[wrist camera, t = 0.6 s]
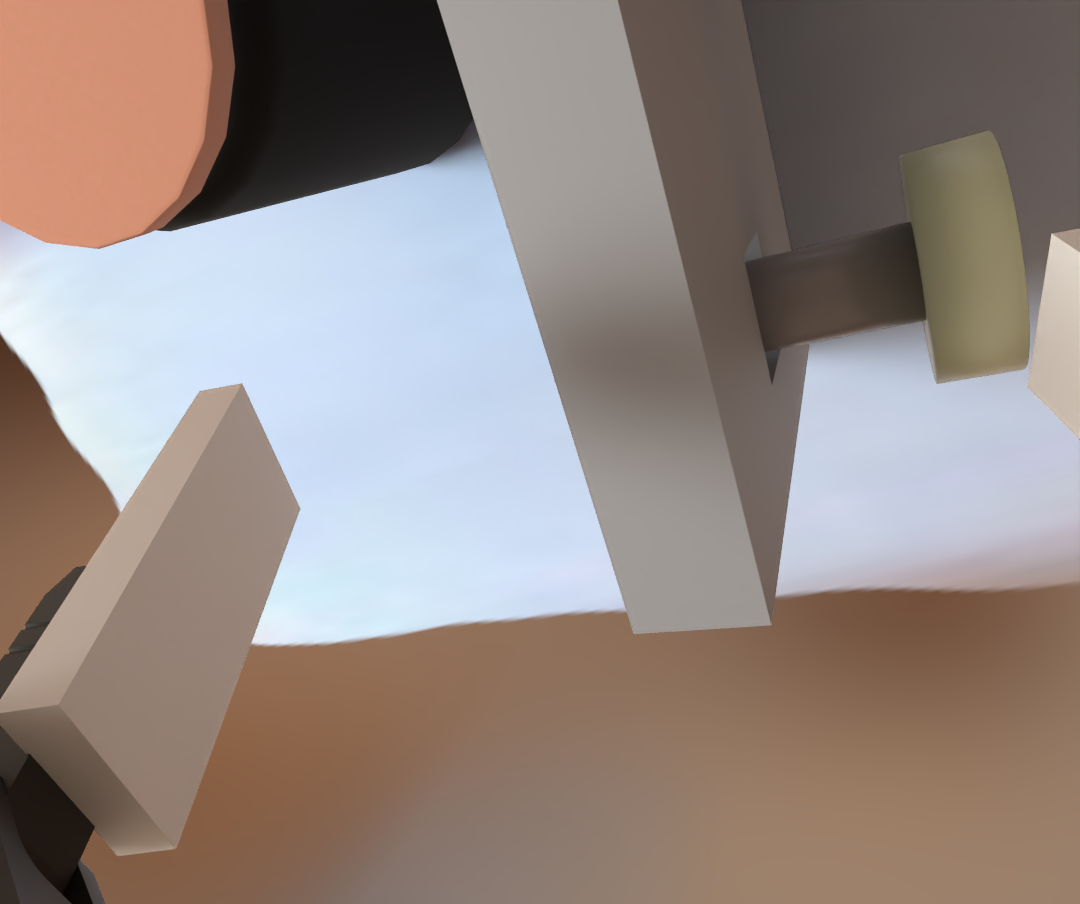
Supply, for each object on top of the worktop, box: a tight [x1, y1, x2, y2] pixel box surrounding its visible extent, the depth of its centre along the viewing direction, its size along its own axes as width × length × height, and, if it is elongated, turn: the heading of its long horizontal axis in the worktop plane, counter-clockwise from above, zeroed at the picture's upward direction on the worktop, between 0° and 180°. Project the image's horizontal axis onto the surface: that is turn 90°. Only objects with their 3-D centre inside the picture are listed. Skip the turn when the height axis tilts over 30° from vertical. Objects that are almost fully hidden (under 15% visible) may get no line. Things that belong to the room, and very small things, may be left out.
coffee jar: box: [0, 0, 473, 249], centre depth 27 cm, size 11×11×18 cm
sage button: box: [745, 131, 1030, 384], centre depth 23 cm, size 8×6×6 cm
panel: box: [437, 0, 810, 634], centre depth 23 cm, size 3×20×20 cm, turn 18°
